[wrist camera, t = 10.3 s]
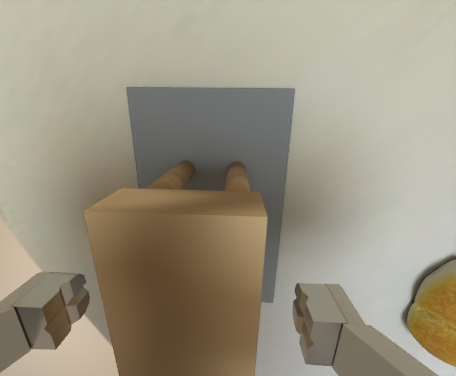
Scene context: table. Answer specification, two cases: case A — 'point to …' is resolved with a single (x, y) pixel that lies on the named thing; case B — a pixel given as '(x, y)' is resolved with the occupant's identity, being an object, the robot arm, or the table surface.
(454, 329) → the bread roll
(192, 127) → the mat
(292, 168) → the table surface
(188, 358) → the stool
